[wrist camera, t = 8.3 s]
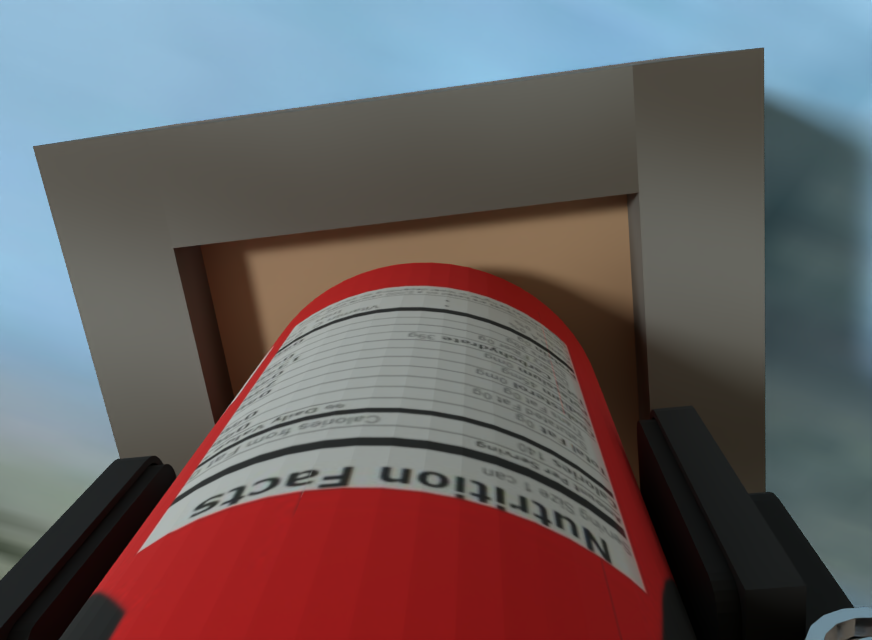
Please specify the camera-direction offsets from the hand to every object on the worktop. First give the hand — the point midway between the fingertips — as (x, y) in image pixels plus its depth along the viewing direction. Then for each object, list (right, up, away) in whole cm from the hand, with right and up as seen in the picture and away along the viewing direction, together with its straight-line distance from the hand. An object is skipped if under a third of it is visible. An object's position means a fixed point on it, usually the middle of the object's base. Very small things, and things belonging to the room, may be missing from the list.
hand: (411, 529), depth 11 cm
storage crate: (+1, +3, +9) cm, 9 cm away
